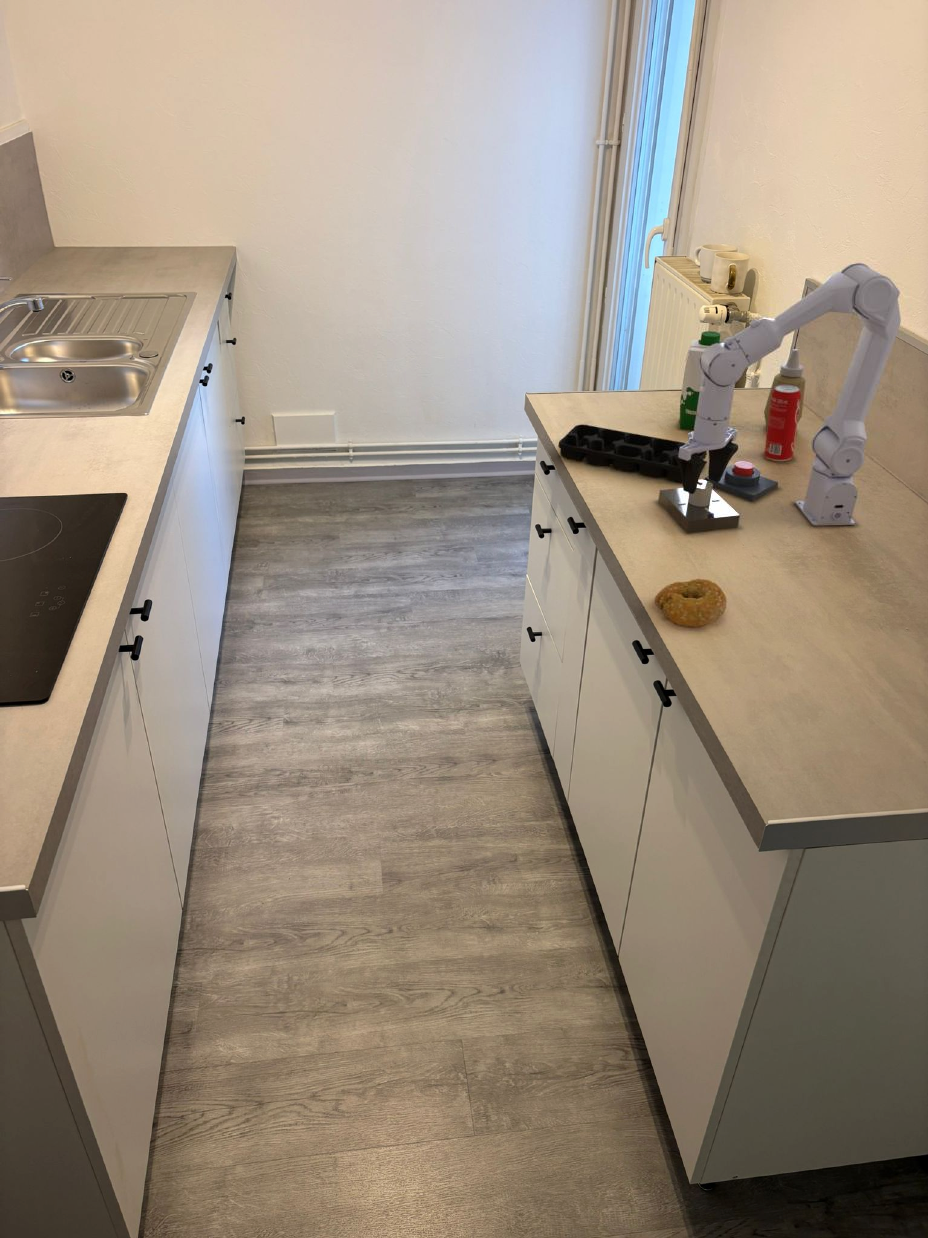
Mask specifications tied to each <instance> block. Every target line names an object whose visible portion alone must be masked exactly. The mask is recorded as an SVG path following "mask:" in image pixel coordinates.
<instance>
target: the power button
mask: <svg viewBox="0 0 928 1238" xmlns="http://www.w3.org/2000/svg"><path fill="white" fill-rule="evenodd" d="M734 465H735V466H734V473H735V474H737V475H741V476H751V475H752V473H753V468H755V464H753V463H751V462H749V461H745V460H744V461H741V460H740V461H739V460H738V461H736V462H735V463H734Z"/></svg>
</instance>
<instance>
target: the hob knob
mask: <svg viewBox="0 0 928 1238" xmlns="http://www.w3.org/2000/svg"><path fill="white" fill-rule="evenodd" d="M713 488H714V487H713V484H712V483H711V482H709V481H706V480H705V479H699V481H698V485H697V488H696V491H695V493H693V494H690V493H689V497H688V502H689V503H690V504H691V505H694V506H698V507H705V506H708V505H709V504H710V501H711V495H712V490H714V489H713Z"/></svg>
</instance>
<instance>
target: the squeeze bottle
mask: <svg viewBox="0 0 928 1238" xmlns="http://www.w3.org/2000/svg"><path fill="white" fill-rule="evenodd" d="M799 354H800V353H799V349H798V348H793V349H792V350H791V353H790V355H789V357H788V360H787V362H786V363H782V364H781V365H780V369H779V373H777V374H775V375H774V377H773V381H772V382H771V383H772V384H771V386H770V391H769V394H768V396H767V400H766V403H765V407H764V410H763V413H764V421H765V427H766V429H767V428H768V420H769V412H770V403H771V395H772V392H773V390H774V387H775V386H777V385H782V384H790V385H795V386H798V387H800V392H801V401H800V408H799V416H798V423H797V425H798V424H799V423H800V420H801V419H802V417H803V408H804V400H805V399H804V398H805V389H806V379H805V377H804V376H803V372H804V367H803V365H801V364H800V359H799V357H800V355H799Z"/></svg>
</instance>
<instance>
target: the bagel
mask: <svg viewBox="0 0 928 1238" xmlns="http://www.w3.org/2000/svg"><path fill="white" fill-rule="evenodd" d="M654 603H655V605H656V606H657V607H659V608H660V610H662V611H663V613H664V615H665V617H666V618H667V619H669V620H671V622H673V623H674V624H675V625H678V626H683V627H692V628H693V627H696V628H697V627H703V626H706V625H709V624H711V623H713V622H715V621H716V620H718V619H719V618H720V617H722V616H723V614H724V613H725V611H726V609H727V596H726V594H725V593H724V591H723V589H722V587H720V586H719V585H718V584H717V583H716V582H714V581H711V580H709V579H705V578H704V579H701V578H696V579H691V580H689V581H676V582H673V583H670V584H668V585H666V586H665V587H663V588H662V589H661V590H660V591H659V592H658V593H657V594H656V595H655V596H654Z"/></svg>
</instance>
